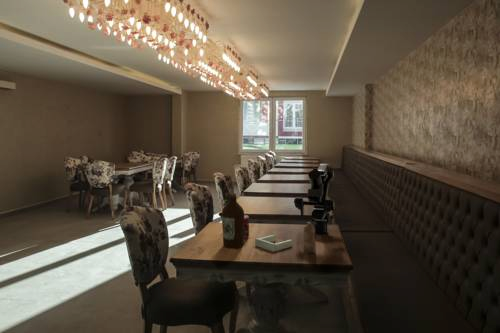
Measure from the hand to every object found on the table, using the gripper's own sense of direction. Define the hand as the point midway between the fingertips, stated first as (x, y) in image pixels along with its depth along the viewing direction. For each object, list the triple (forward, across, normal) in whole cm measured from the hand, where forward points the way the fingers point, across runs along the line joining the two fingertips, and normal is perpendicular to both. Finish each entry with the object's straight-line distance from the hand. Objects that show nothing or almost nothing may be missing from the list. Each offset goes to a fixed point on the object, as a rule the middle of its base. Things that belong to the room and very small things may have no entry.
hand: (311, 219), depth 181 cm
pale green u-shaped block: (+12, -17, +6) cm, 22 cm away
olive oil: (+17, -35, +1) cm, 39 cm away
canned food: (+7, -37, +12) cm, 39 cm away
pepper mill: (+15, 0, +3) cm, 15 cm away
